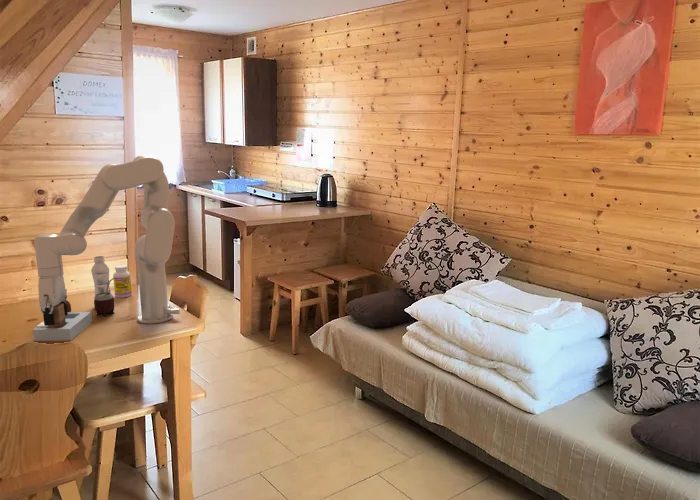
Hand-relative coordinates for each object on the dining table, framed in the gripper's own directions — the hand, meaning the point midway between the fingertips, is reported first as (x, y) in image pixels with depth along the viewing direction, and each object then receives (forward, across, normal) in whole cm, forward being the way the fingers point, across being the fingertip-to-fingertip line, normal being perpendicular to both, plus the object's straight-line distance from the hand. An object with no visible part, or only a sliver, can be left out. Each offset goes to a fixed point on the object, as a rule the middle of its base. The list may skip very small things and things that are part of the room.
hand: (56, 320), depth 193 cm
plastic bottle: (+6, -34, +3) cm, 34 cm away
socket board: (+6, -5, 0) cm, 8 cm away
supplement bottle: (+6, -48, +6) cm, 49 cm away
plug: (+5, 0, 0) cm, 5 cm away
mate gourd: (+6, -23, +8) cm, 25 cm away
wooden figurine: (+6, -17, -6) cm, 19 cm away
